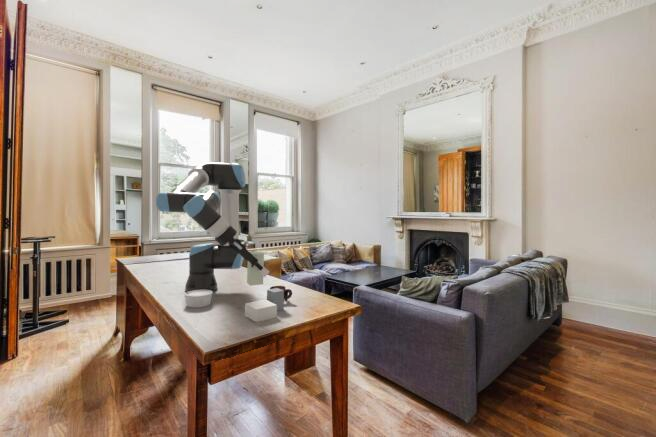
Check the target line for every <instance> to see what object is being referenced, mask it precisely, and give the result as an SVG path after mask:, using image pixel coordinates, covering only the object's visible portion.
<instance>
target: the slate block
mask: <svg viewBox="0 0 656 437" xmlns="http://www.w3.org/2000/svg"><path fill="white" fill-rule="evenodd" d="M266 290H267V291H266V300H268V301H270V302H272V303H274V304H276V305H277V312H278V311H282V310H284V305H285V304H284V303H285V299H284V290H281V289H279V288H274V289H270V288H269V289H266Z"/></svg>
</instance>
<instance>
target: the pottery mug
mask: <svg viewBox="0 0 656 437" xmlns="http://www.w3.org/2000/svg"><path fill="white" fill-rule="evenodd" d="M274 288H279V289H281V290H284V302H287V301H288V300H289V299H291V297H292V296H293V291H292V289H289V288H287V289H286V286H284V285H273V286H271V287H270V288H269V289H274Z"/></svg>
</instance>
